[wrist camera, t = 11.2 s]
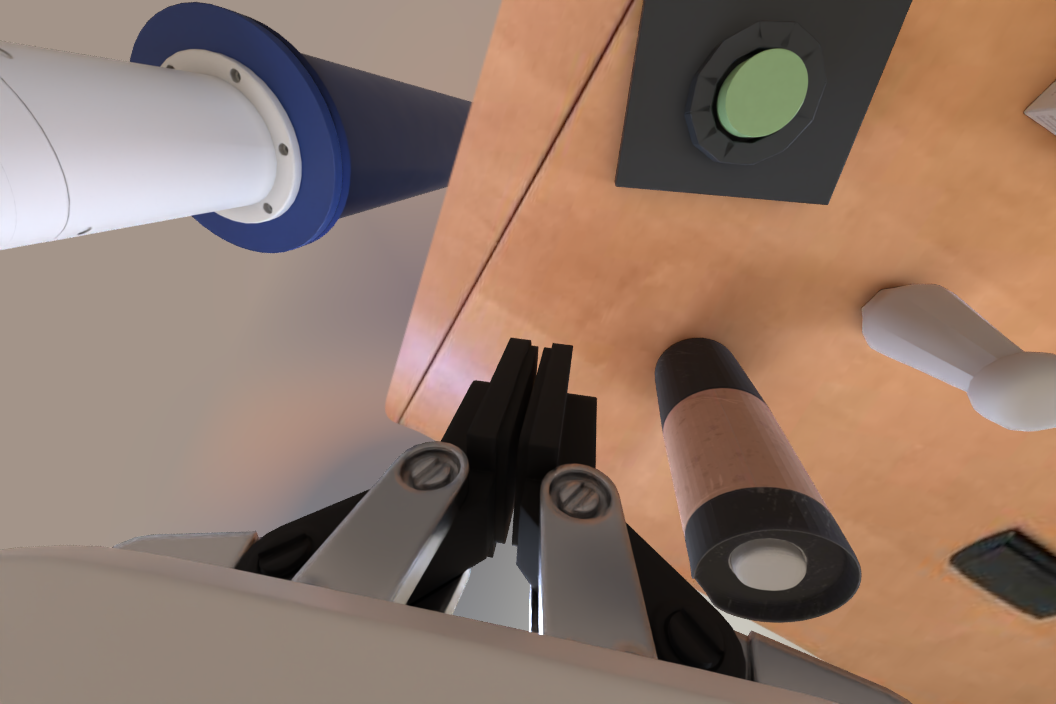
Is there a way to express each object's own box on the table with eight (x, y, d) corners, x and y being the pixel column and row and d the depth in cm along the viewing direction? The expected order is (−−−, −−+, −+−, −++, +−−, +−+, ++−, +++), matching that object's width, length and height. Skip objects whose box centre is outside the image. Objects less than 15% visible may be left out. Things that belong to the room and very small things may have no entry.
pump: (707, 134, 24) (716, 134, 22) (728, 53, 22) (738, 46, 20) (777, 139, 24) (791, 139, 22) (804, 57, 22) (821, 50, 20)
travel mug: (753, 344, 34) (903, 552, 17) (720, 412, 38) (815, 639, 21) (665, 326, 35) (724, 510, 18) (641, 395, 39) (670, 602, 21)
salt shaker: (830, 322, 32) (950, 419, 21) (891, 261, 30) (1066, 336, 18) (889, 353, 33) (1038, 465, 21) (955, 296, 30) (1165, 391, 19)
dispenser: (614, 182, 30) (615, 189, 26) (643, -5, 25) (652, -35, 21) (808, 199, 29) (844, 209, 24) (884, 2, 23) (947, -29, 19)
